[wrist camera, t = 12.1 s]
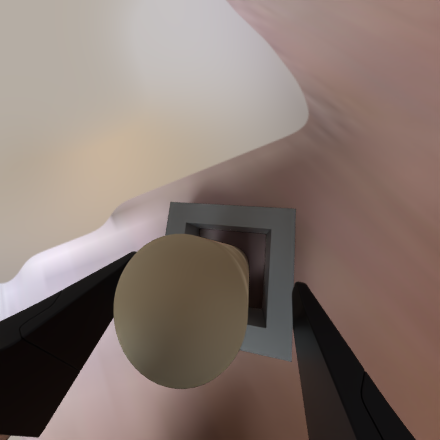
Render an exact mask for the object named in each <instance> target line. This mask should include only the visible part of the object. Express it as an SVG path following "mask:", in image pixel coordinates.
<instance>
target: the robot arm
mask: <svg viewBox="0 0 440 440" xmlns="http://www.w3.org/2000/svg"><path fill="white" fill-rule="evenodd" d="M136 253H137V252H135V251H133V252H131V253H129V254H127V255H125V256H124V257H122V258H120V259H118V260H116V261H114V262H113V263H111V264H109V265H107V266H105V267H103V268H102V269H100V270H98V271H96V272H94V273H92V274H91V275H89V276H87V277H85V278H83V279H81V280H80V281H78V282H76V283H74V284H72V285H70V286H69V287H67V288H65V289H63V290H61V291H59V292H58V293H56V294H54V295H52V296H50V297H48V298H46V299H45V300H43V301H41V302H39V303H37V304H35V305H33V306H31V307H29V308H27V309H25V310H23V311H21V312H19V313H17V314H15V315H13V316H10V317H8V318H6V319H4V320H2V321H0V440H8V438H9V437H10V436H24V437H39V436H40V435H41V433H42V432H43V431H44V429H45V427H46V426H47V424H48V423H49V421H50V419H51V418H52V416H53V415H54V413H55V411H56V410H57V408H58V406H59V405H60V403H61V402H62V400H63V398H64V397H65V395H66V394H67V392H68V390H69V389H70V387H71V385H72V384H73V382H74V381H75V379H76V377H77V376H78V374H79V373H80V370H81V369H82V368H83V366H84V364H85V363H86V361H87V359H88V358H89V356H90V355H91V353H92V351H93V350H94V348H95V347H96V345H97V343H98V342H99V340H100V338H101V337H102V335H103V334H104V332H105V330H106V329H107V327H108V326H109V324H110V322H111V321H112V319H113V318H114V298H115V292H116V288H117V285H118V282H119V279H120V277H121V274H122V272H123V270H124V268H125V267H126V265H127V264H128V262H129V261H130V260H131V258H132V257H133V256H134V255H135V254H136ZM292 317H293V331H294V338H295V345H296V352H297V359H298V366H299V373H300V380H301V387H302V394H303V401H304V408H305V415H306V422H307V429H308V436H309V440H416V439H415V438H414V437H413V436H412V434H411V433H410V432H409V430H408V429H407V428H406V426H405V425H404V424H403V422H402V421H401V420H400V418H399V417H398V416H397V414H396V413H395V412H394V410H393V409H392V408H391V406H390V405H389V404H388V402H387V401H386V399H385V398H384V397H383V395H382V394H381V392H380V391H379V390H378V388H377V387H376V385H375V384H374V382H373V381H372V379H371V378H370V377H369V375H368V374H367V372H365V371H364V368H363V366H362V365H361V363H360V362H359V361H358V359H357V358H356V356H355V355H354V353H353V352H352V350H351V349H350V347H349V346H348V345H347V343H346V342H345V340H344V339H343V337H342V336H341V334H340V333H339V331H338V330H337V328H336V327H335V326H334V324H333V323H332V321H331V320H330V318H329V317H328V315H327V314H326V312H325V311H324V309H323V308H322V307H321V305H320V304H319V302H318V301H317V299H316V298H315V296H314V295H313V293H312V292H311V291H310V289H309V288H308V286H307V285H306V284H305V283H303V282H296V283H295V285H294V288H293V290H292Z"/></svg>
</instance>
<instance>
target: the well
mask: <svg viewBox="0 0 440 440" xmlns="http://www.w3.org/2000/svg"><path fill="white" fill-rule="evenodd" d="M295 220H296V209H290V208H272V207H254V206H235V205H217V204H198V203H180V202H171V203H170V209H169V215H168V221H167V228H166V234H165V236H166V235H172V234H189V235H194V236H198V234H199V228H204V229H216V230H227V231H239V232H251V233H263V234H266V251H265V268H264V286H263V304H262V309H258V308H252V307H248V320H247V328H246V332H245V337H244V340H243V342H242V345H241V348H240V350H241V351H246V352H250V353H255V354H259V355H263V356H268V357H272V358H277V359H281V360H286V361H290V362H292V330H293V317H292V290H293V288H294V257H295Z"/></svg>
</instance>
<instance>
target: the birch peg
mask: <svg viewBox="0 0 440 440" xmlns="http://www.w3.org/2000/svg"><path fill="white" fill-rule="evenodd" d="M248 295H249V262H248V259H247V257H246V255H245V253H244V252H243V251H242V250H241V249H239V248H238V247H235V246H232V245H228V244H225V243H221V242H217V241H213V240H209V239H206V238H202V237H198V236H194V235H189V234H172V235H166V236H163V237H160V238H157V239H155V240H153V241H151V242H149V243H148V244H146V245H145V246H144V247H142V248H141V249H140V250H139V251H138V252H137V253H136V254H135V255H134V256H133V257H132V258H131V260H130V261H129V262H128V264H127V265H126V267H125V268H124V270H123V272H122V274H121V277H120V279H119V282H118V285H117V288H116V292H115V298H114V324H115V329H116V334H117V337H118V340H119V343H120V345H121V347H122V349H123V352H124V353H125V355H126V356H127V358H128V360H129V361H130V362H131V364H132V365H133V366H134V367H135V368H136V369H137V370H138V371H139V372H140V373H141V374H142V375H144V376H145V377H146V378H148V379H149V380H151V381H153V382H155V383H157V384H159V385H162V386H165V387H169V388H175V389H187V388H194V387H198V386H201V385H204V384H206V383H208V382H210V381H212V380H213V379H215V378H216V377H217V376H219V375H220V374H221V373H222V372H223V371H224V370H225V369H226V368H227V367H228V366H229V365H230V364H231V362H232V361H233V360H234V358H235V357H236V355H237V353H238V351H239V350H240V348H241V345H242V342H243V340H244V337H245V332H246V328H247V320H248Z"/></svg>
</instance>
